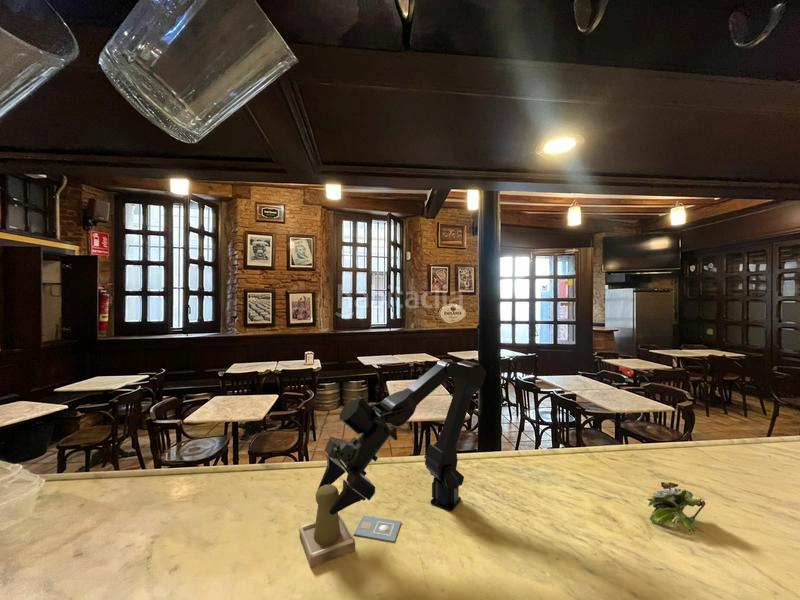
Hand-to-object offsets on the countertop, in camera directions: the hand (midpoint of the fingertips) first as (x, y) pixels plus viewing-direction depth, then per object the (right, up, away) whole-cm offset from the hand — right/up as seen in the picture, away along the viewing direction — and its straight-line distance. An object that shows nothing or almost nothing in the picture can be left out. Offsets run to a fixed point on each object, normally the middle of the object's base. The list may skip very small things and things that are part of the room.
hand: (324, 502), depth 79 cm
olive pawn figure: (+1, -8, +1) cm, 8 cm away
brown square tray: (0, -10, +1) cm, 10 cm away
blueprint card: (+12, -10, +6) cm, 16 cm away
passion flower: (+86, -10, +8) cm, 87 cm away
